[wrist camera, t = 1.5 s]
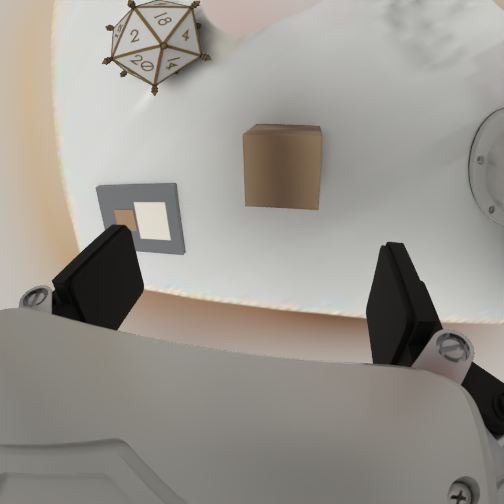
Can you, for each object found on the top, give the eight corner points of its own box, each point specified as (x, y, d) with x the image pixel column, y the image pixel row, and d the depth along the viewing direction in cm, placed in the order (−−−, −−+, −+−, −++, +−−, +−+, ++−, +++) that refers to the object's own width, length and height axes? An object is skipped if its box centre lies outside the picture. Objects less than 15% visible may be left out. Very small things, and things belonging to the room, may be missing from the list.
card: (176, 183, 30) (173, 185, 29) (185, 252, 34) (183, 255, 33) (98, 185, 31) (95, 187, 31) (112, 246, 36) (109, 249, 35)
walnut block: (319, 126, 25) (322, 137, 20) (316, 184, 28) (318, 210, 23) (256, 124, 26) (242, 134, 21) (257, 181, 28) (245, 206, 23)
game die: (208, 46, 25) (247, 64, 19) (136, 93, 26) (147, 128, 20) (165, -21, 18) (190, -35, 12) (87, 30, 19) (74, 38, 13)
